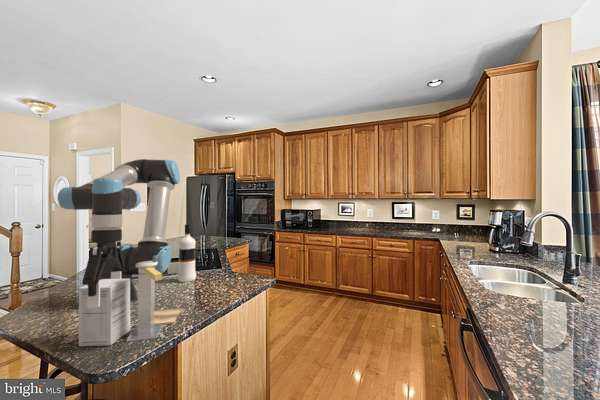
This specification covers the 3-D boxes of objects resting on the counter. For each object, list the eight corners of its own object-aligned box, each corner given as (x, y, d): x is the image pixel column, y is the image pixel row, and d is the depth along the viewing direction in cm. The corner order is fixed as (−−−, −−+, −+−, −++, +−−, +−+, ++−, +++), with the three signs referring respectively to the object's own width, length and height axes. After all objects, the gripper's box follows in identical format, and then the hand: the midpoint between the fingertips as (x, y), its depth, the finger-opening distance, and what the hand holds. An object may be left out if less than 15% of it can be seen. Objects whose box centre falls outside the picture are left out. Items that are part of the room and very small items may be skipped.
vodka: (185, 283, 131) (185, 225, 131) (173, 281, 135) (173, 224, 136) (200, 278, 139) (200, 223, 140) (188, 276, 143) (188, 223, 144)
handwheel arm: (146, 283, 69) (146, 265, 69) (133, 271, 81) (133, 256, 81) (170, 278, 73) (170, 262, 73) (154, 268, 85) (154, 254, 85)
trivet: (146, 312, 96) (146, 311, 96) (181, 309, 99) (181, 307, 99) (134, 327, 84) (134, 325, 84) (174, 323, 87) (174, 321, 87)
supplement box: (131, 330, 82) (131, 277, 83) (111, 346, 73) (111, 287, 73) (101, 330, 82) (101, 278, 82) (77, 346, 73) (77, 287, 73)
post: (136, 328, 83) (137, 270, 84) (163, 325, 85) (164, 268, 86) (126, 341, 75) (127, 277, 76) (156, 338, 77) (156, 275, 78)
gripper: (112, 226, 89) (110, 287, 89) (66, 232, 65) (64, 316, 64) (136, 225, 91) (135, 285, 90) (100, 232, 67) (98, 313, 66)
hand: (105, 298), depth 77 cm, fingers open, 13 cm apart
